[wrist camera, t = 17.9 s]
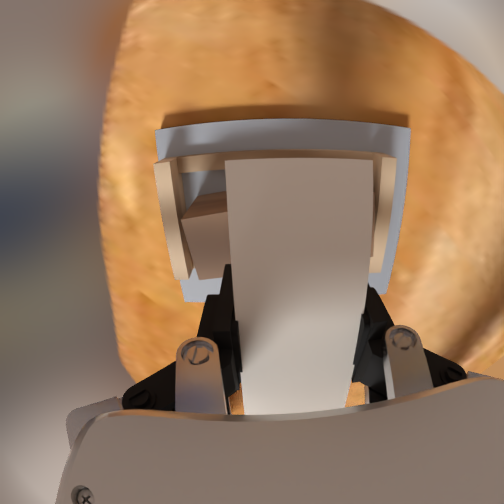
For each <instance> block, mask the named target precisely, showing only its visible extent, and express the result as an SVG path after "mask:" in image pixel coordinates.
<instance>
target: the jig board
mask: <svg viewBox="0 0 504 504" xmlns="http://www.w3.org/2000/svg"><path fill="white" fill-rule="evenodd" d="M410 129H411V128H406V127H400V126H393V125H385V124H377V123H368V122H357V121H345V120H328V119H251V120H234V121H221V122H211V123H201V124H193V125H185V126H178V127H171V128H165V129H159V130H155V135H156V144H157V152H158V160H159V161H160V160H162V159H164V158H168V157H176V156H184V155H193V154H203V153H214V152H228V151H244V150H267V149H329V150H352V151H368V152H381V153H385V154H387V155H390V156H392V157H395V158H397V164H396V176H395V186H394V195H393V204H392V211H391V218H390V225H389V231H388V237H387V243H386V248H385V254H384V259H383V264H382V269H381V273H369V276H368V283H369V285H370V287H374V288H375V289H376V291H377V293H378V294H386V291H387V288H388V284H389V280H390V276H391V271H392V267H393V263H394V258H395V253H396V248H397V243H398V238H399V233H400V227H401V221H402V215H403V208H404V201H405V193H406V185H407V175H408V164H409V151H410ZM182 181H183V189H184V196H185V204H186V211H187V210H188V209H189V207H190V206H191V204H192V203H193V202H194V200H195V199H196V197H197V196H200V195H205V194H211V193H216V192H222V191H226V174H225V169H222V170H209V171H197V172H186V173H182ZM222 278H223V277H222ZM222 278H214V279H206V280H199V278H198V275H197V272H196V269H195V268H193V270H192V273H191V275H190V278H189V280H180V283H181V287H182V292H183V296H184V300H185V302H205V301H206V297H207V295H208V294H219V293H220V288H221V283H222Z"/></svg>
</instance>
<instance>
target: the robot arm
mask: <svg viewBox="0 0 504 504" xmlns="http://www.w3.org/2000/svg"><path fill="white" fill-rule="evenodd" d="M353 365H354V370H353V374H352V383H353V382H361V383H363V384H364V385H365V387H364V390H365V404H364V405H358V406H352V407H346V408H339V409H331V410H323V411H313V412H302V413H288V414H267V415H232V414H231V408H230V401H229V396H231V395H232V394H233V393H235V392H236V390H239V385H240V383H241V374H240V372H243V370H242V359H241V348H240V336H239V324H238V321H236V319H235V307H234V295H233V282H232V269H231V264H225V267H224V272H223V278H222V283H221V288H220V293H219V294H208V295H207V297H206V301H205V305H204V309H203V313H202V317H201V321H200V325H199V330H198V334H197V337H195V338H191V339H188V340H186V341H185V342H183V343H182V344H181V345H180V346H179V348H178V349H177V353H176V361H175V362H173V363H171V364H170V365H168V366H166V367H165V368H163V369H161V370H160V371H158V372H156V373H154V374H153V375H151V376H149V377H148V378H146V379H144V380H142V381H141V382H139V383H137V384H135V385H134V386H132V387H130V388H129V389H128V390H127V391H126V392H125V393H124V395H123V397H121V398H117V397H113V398H109V399H106V400H104V401H100V402H97V403H93V404H90V405H87V406H84V407H80V408H77V409H75V410H73V411H71V412H70V413H69V415H68V416H67V419H66V427H67V433H68V438H69V444H70V449H71V451H70V453H69V456H68V459H67V462H66V465H65V468H64V471H63V474H62V478H61V482H60V486H59V490H58V494H57V498H56V503H55V504H504V380H503V379H499V378H495V377H491V376H486V375H482V374H478V373H474V372H470V371H468V372H467V374H466V373H465V371H464V369H463V368H462V367H461V366H460V365H458V364H456V363H454V362H452V361H450V360H448V359H446V358H443V357H441V356H439V355H437V354H435V353H433V352H431V351H429V350H426V349H424V348H423V346H422V343H421V339H420V337H419V335H418V333H417V332H416V331H415V330H413V329H412V328H410V327H407V326H403V325H396V326H395V325H394V323H393V321H392V319H391V317H390V315H389V314H388V312H387V310H386V308H385V306H384V304H383V302H382V300H381V298H380V296H379V295H378V293H377V291H376V289H375V288H374V287H370V285H369V283H368V285H367V293H366V301H365V308H364V314H361V320H360V327H359V333H358V339H357V344H356V350H355V355H354V360H353Z"/></svg>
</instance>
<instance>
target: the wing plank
mask: <svg viewBox="0 0 504 504" xmlns="http://www.w3.org/2000/svg"><path fill="white" fill-rule="evenodd" d="M225 174H226V192H227V209H228V225H229V240H230V255H231V269H232V282H233V295H234V307H235V319H236V321H238V324H239V336H240V348H241V359H242V370H243V372H240V374H241V384H242V394H243V404H244V413H245V415H267V414H288V413H302V412H313V411H323V410H331V409H339V408H344V407H345V403H346V399H347V395H348V391H349V387H350V383H351V379H352V374H353V370H354V365H353V360H354V355H355V350H356V344H357V339H358V333H359V327H360V320H361V314H364V308H365V301H366V293H367V285H368V276H369V266H370V254H371V240H372V220H373V160H361V159H339V158H266V159H243V160H227V161H225Z"/></svg>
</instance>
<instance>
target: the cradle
mask: <svg viewBox="0 0 504 504" xmlns="http://www.w3.org/2000/svg"><path fill="white" fill-rule="evenodd" d="M266 158H339V159H361V160H373V192H374V193H375V227H374V252H373V257H370V266H369V273H381V269H382V264H383V259H384V254H385V248H386V243H387V237H388V231H389V225H390V218H391V211H392V204H393V195H394V186H395V176H396V164H397V158H395V157H392V156H390V155H387V154H385V153H381V152H368V151H352V150H329V149H267V150H244V151H228V152H214V153H203V154H193V155H184V156H176V157H168V158H164V159H162V160H160V161H158V162H156V163H154V164H153V165H154V172H155V179H156V186H157V192H158V198H159V204H160V210H161V215H162V221H163V226H164V231H165V236H166V241H167V246H168V251H169V256H170V260H171V265H172V269H173V274H174V278H175V280H189V278H190V275H191V273H192V270H193V268H195V266H194V263H193V259H192V256H191V253H190V250H189V246H188V243H187V240H186V236H185V233H184V229H183V226H182V222H181V219H182V217H183V216H184V214H185V213H186V212H187V211H186V204H185V196H184V189H183V181H182V173H186V172H197V171H209V170H222V169H225V161H227V160H243V159H266Z"/></svg>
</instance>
